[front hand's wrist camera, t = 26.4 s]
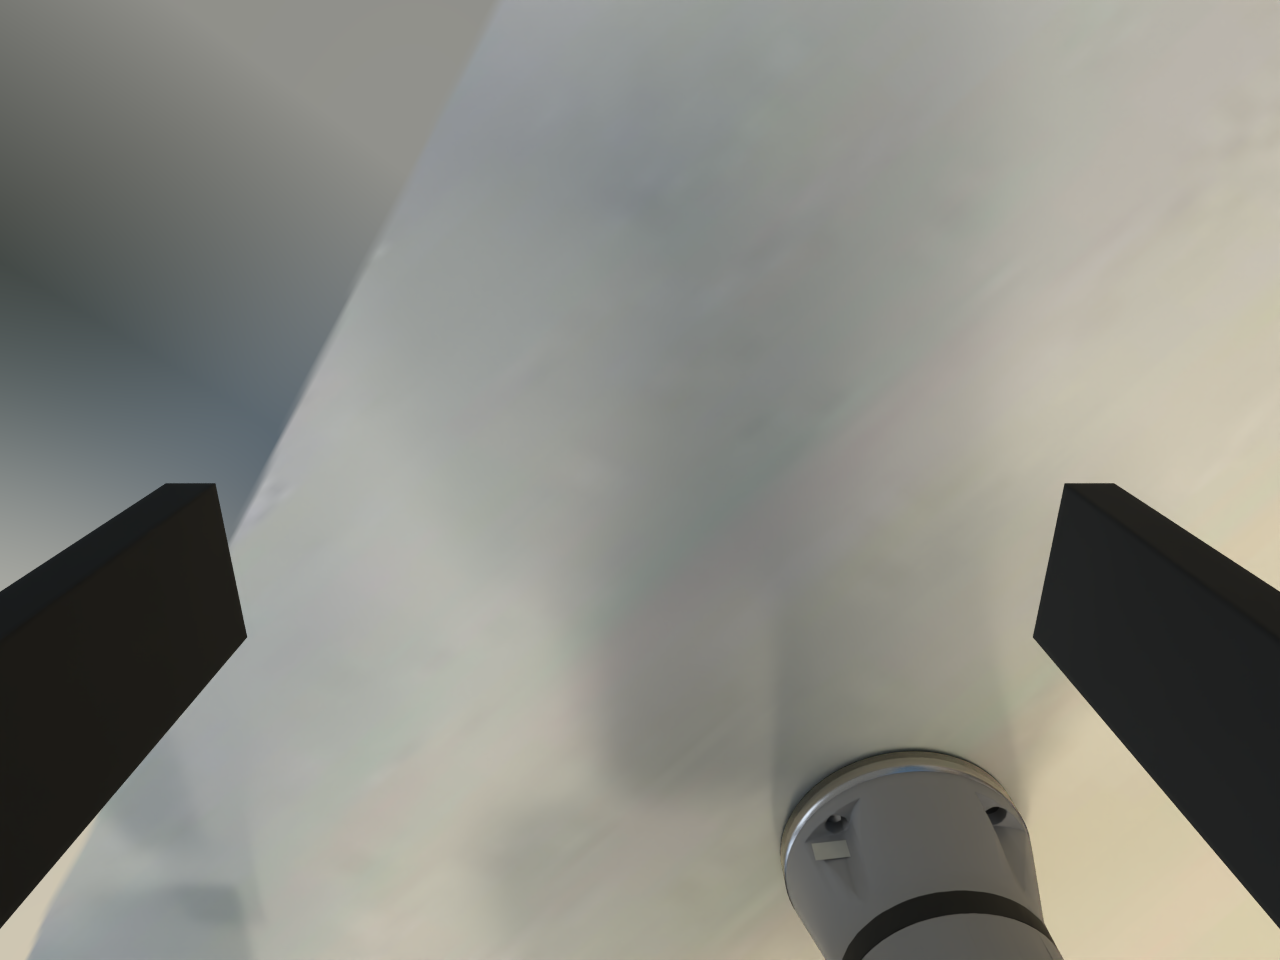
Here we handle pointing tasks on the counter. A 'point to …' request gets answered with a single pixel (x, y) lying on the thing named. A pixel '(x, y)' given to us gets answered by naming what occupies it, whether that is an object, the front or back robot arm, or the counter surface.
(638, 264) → the counter surface
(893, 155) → the counter surface
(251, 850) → the counter surface
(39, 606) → the front robot arm
